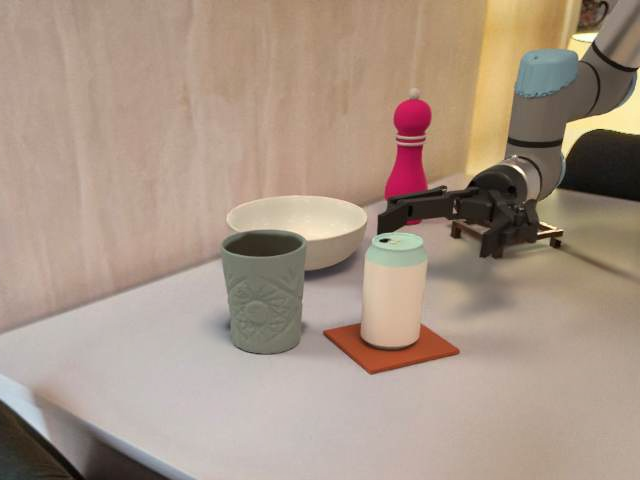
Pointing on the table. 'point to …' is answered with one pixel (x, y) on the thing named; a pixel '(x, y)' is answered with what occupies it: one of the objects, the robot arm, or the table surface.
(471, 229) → the square trivet stand
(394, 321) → the can
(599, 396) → the table surface
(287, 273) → the grey ceramic cup
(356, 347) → the mat
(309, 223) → the serving bowl
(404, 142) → the pepper mill
